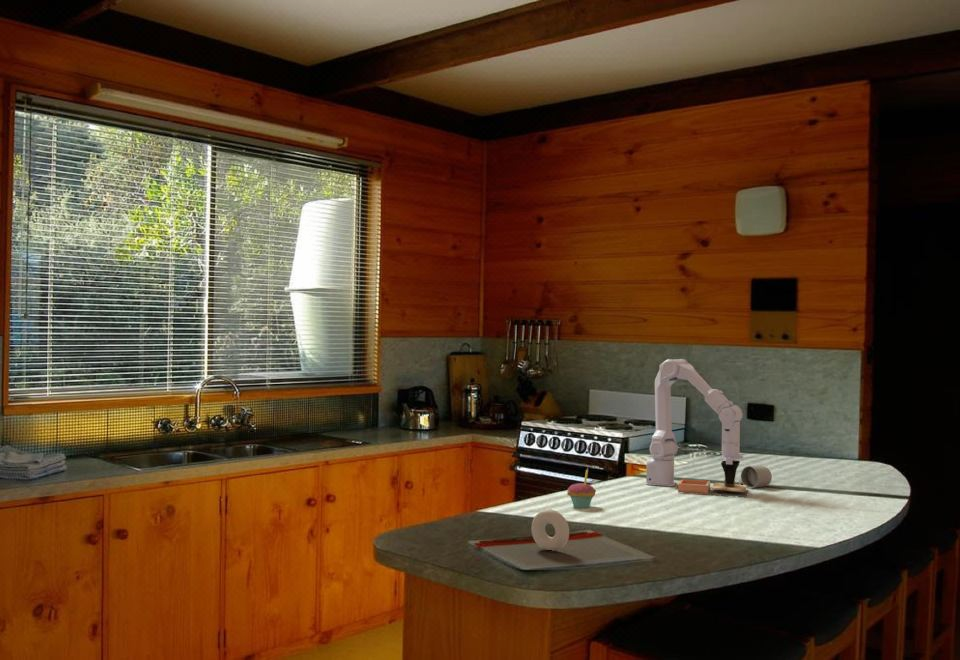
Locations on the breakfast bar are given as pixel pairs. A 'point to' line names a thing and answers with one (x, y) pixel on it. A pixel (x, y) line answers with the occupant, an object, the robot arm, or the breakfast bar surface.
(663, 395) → the robot arm
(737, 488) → the lid
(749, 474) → the ceramic mug
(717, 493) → the mat
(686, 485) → the dish
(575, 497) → the cupcake
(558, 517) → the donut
